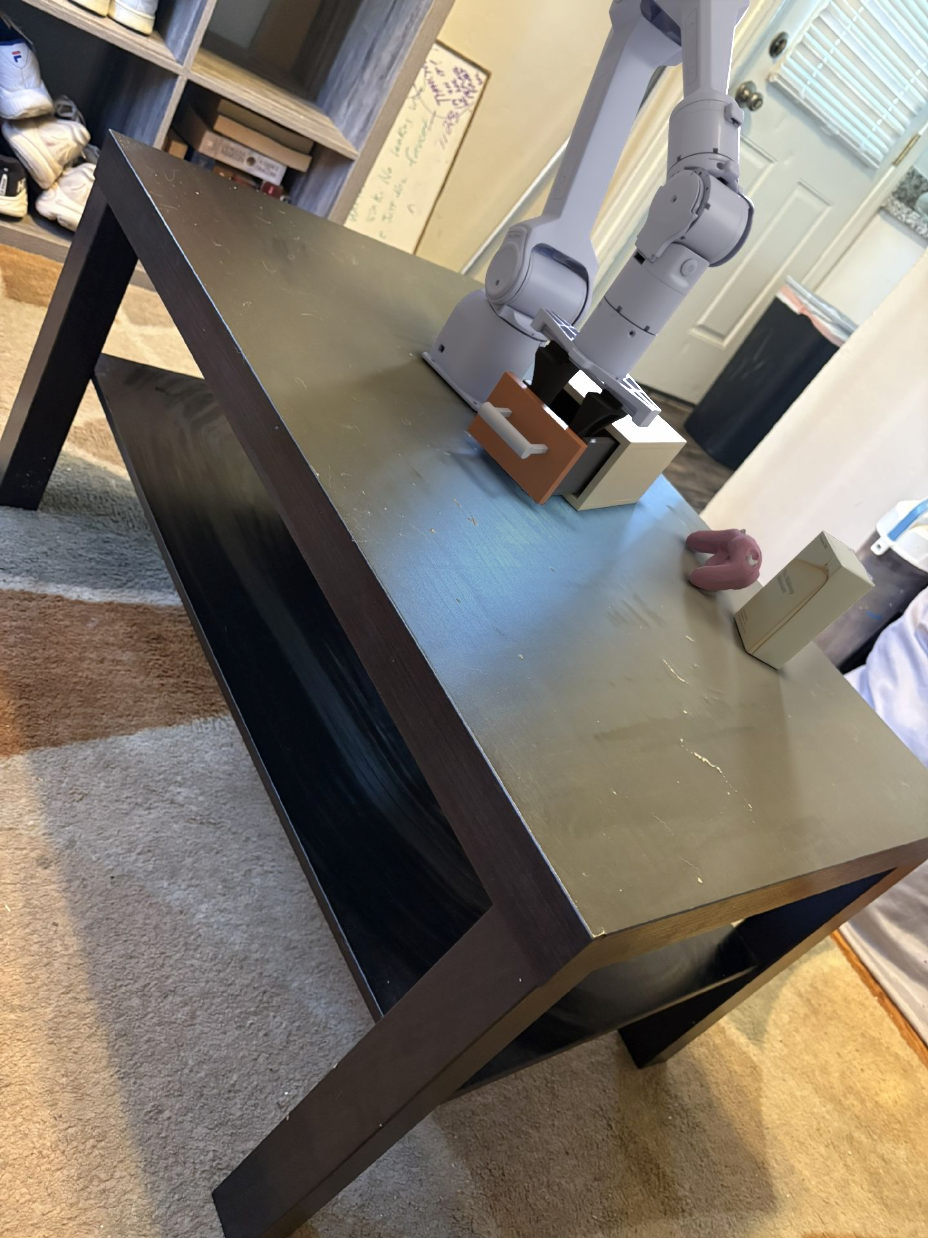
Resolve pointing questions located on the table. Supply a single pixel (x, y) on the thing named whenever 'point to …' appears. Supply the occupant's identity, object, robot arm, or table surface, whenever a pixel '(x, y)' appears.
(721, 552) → the pink curved piece
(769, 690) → the table surface
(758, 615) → the cosmetic box
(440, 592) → the table surface
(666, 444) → the mini drawer cabinet
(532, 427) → the pod drawer
